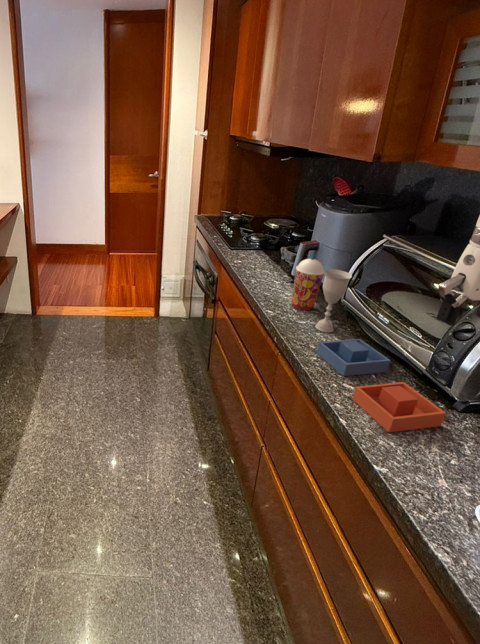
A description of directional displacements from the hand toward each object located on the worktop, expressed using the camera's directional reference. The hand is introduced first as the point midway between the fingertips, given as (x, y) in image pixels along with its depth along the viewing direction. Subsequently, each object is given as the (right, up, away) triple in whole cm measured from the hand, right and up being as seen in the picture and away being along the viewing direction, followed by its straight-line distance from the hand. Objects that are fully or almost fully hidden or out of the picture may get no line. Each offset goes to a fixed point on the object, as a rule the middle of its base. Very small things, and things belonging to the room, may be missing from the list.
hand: (466, 320), depth 78 cm
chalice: (-5, -8, +41) cm, 42 cm away
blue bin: (-7, -14, +24) cm, 29 cm away
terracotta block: (-9, -21, +7) cm, 24 cm away
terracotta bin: (-9, -21, +7) cm, 24 cm away
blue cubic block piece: (-7, -14, +24) cm, 29 cm away
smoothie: (-4, -2, +54) cm, 54 cm away
